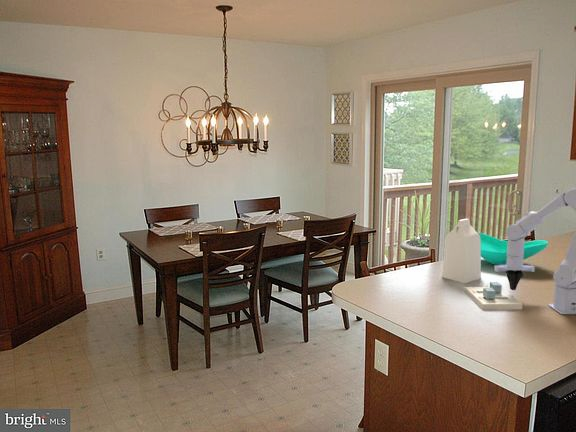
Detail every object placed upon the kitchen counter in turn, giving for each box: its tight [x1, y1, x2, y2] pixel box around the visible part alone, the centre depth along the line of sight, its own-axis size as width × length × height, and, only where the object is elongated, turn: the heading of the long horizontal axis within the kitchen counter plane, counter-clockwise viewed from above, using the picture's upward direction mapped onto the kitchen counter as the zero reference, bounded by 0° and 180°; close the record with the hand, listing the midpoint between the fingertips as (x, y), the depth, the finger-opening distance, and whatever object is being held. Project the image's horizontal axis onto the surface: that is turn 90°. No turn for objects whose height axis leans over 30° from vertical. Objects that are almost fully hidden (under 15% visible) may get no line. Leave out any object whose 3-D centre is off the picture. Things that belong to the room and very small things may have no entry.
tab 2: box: [489, 281, 503, 293], centre depth 189 cm, size 4×3×3 cm
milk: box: [441, 218, 482, 284], centre depth 214 cm, size 12×12×26 cm
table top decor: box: [476, 231, 549, 266], centre depth 236 cm, size 40×28×13 cm
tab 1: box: [483, 288, 496, 299], centre depth 182 cm, size 4×3×3 cm
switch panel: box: [464, 286, 523, 310], centre depth 186 cm, size 20×14×2 cm
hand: (512, 289), depth 189 cm, fingers closed
